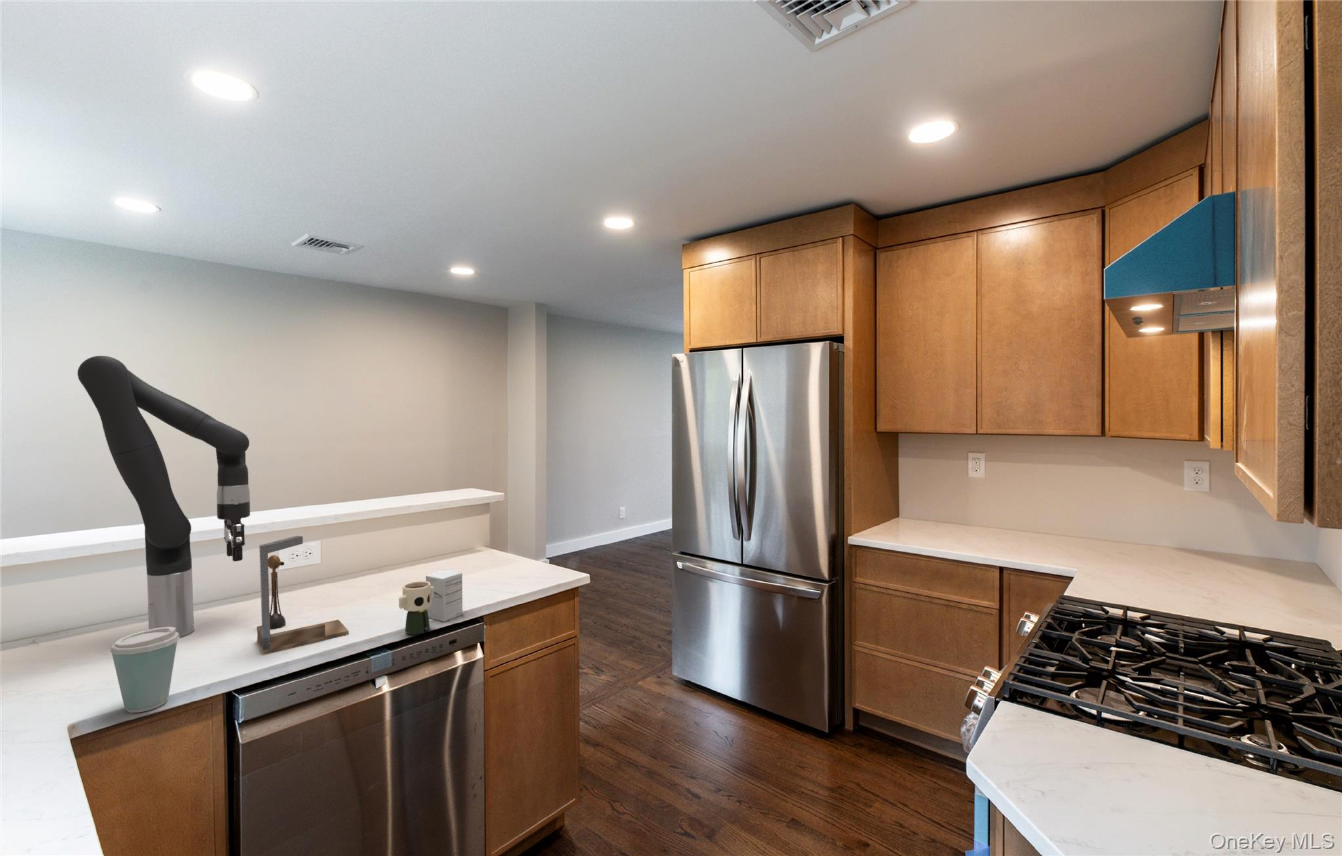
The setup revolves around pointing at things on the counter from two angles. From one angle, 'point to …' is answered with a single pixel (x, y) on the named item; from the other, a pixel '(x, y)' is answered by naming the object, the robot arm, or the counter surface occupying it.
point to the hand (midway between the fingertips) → (234, 558)
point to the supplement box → (445, 595)
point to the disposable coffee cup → (145, 667)
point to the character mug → (416, 605)
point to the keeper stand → (264, 637)
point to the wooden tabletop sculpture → (275, 618)
